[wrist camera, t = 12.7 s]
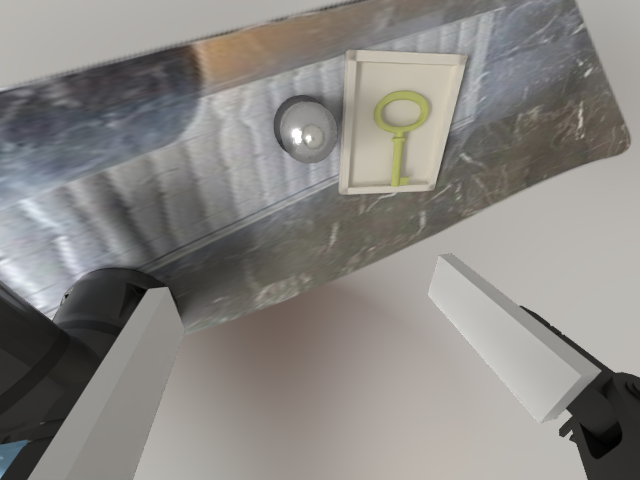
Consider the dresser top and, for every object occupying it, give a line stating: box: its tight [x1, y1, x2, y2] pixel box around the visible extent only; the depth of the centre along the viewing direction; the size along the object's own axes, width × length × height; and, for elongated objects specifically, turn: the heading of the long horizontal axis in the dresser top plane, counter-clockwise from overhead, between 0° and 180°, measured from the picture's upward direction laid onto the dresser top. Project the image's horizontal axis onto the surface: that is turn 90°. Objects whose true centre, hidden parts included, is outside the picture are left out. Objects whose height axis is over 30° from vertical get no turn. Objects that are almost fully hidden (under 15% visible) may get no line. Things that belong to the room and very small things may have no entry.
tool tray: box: [339, 50, 468, 195], centre depth 33 cm, size 15×17×2 cm
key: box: [374, 91, 429, 187], centre depth 33 cm, size 7×12×2 cm, turn 20°
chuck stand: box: [274, 95, 337, 163], centre depth 26 cm, size 7×7×12 cm
